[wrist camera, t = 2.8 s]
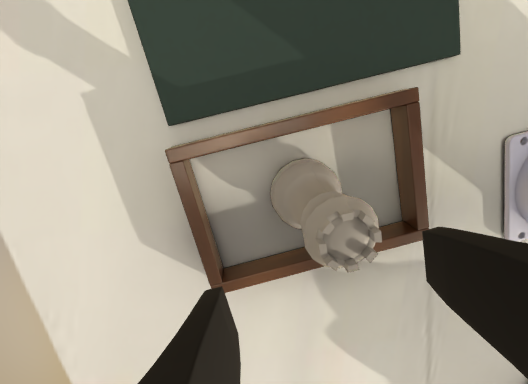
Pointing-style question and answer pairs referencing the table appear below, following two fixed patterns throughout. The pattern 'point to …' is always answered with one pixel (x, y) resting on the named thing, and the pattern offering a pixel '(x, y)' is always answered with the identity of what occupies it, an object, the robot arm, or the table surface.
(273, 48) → the desk mat
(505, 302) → the robot arm
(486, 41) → the table surface
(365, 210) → the rook chess piece
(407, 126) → the desk tray
